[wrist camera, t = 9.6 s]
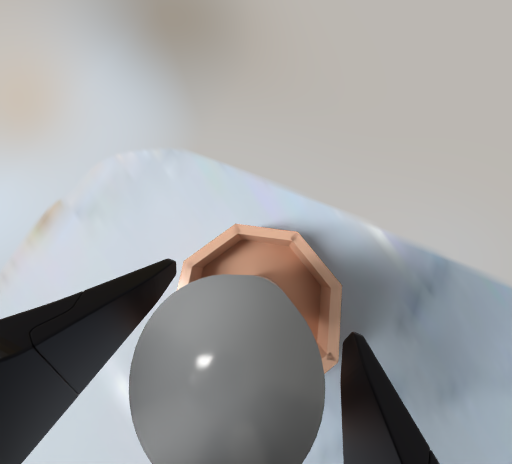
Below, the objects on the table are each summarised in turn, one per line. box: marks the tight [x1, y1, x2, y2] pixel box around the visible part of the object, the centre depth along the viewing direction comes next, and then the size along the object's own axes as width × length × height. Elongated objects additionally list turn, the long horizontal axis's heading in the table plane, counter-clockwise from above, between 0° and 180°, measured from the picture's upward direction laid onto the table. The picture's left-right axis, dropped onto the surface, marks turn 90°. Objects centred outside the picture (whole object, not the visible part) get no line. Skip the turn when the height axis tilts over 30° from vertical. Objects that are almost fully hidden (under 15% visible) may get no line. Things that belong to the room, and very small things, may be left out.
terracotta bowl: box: [177, 224, 342, 374], centre depth 16 cm, size 13×13×4 cm
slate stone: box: [129, 274, 325, 464], centre depth 11 cm, size 5×5×12 cm
